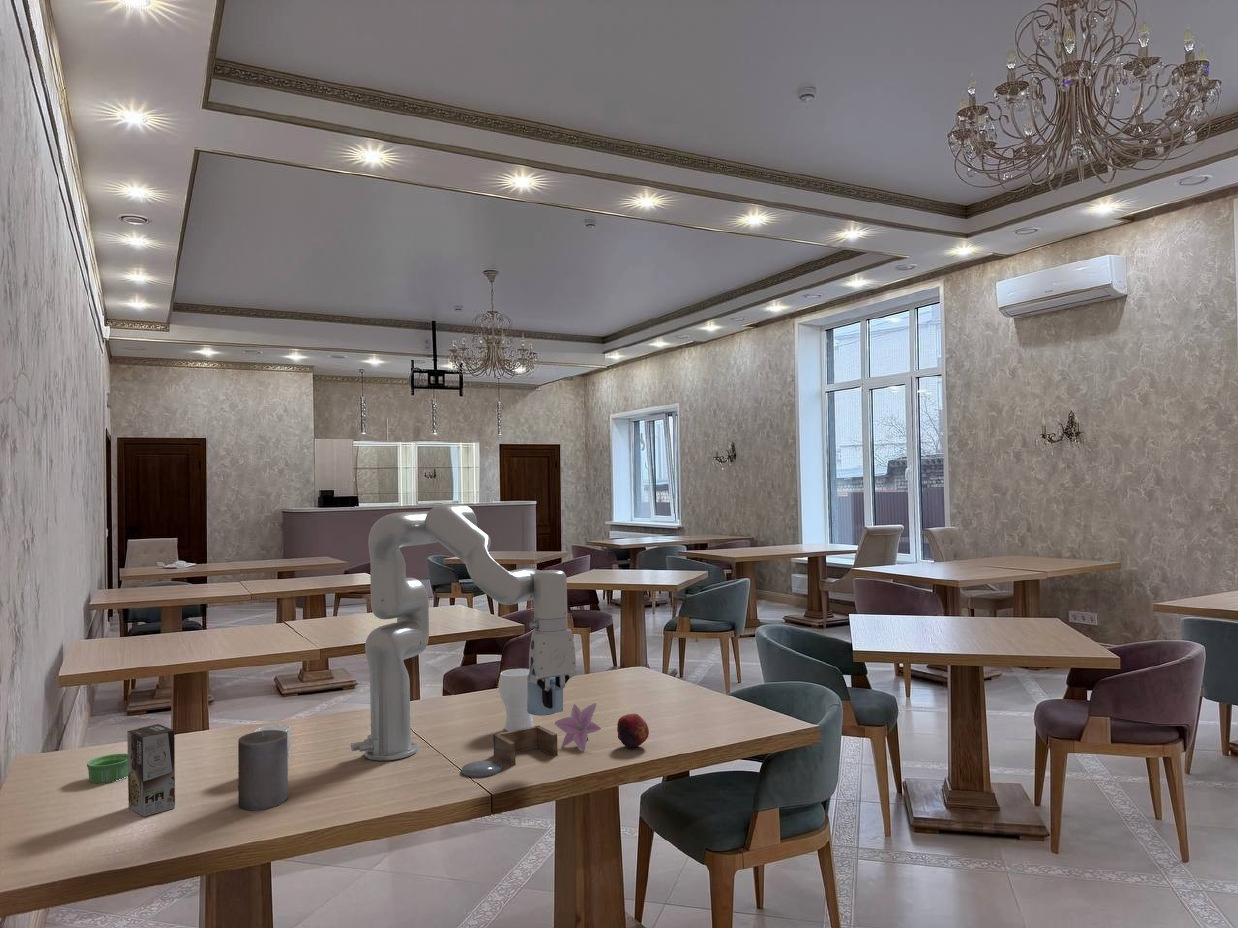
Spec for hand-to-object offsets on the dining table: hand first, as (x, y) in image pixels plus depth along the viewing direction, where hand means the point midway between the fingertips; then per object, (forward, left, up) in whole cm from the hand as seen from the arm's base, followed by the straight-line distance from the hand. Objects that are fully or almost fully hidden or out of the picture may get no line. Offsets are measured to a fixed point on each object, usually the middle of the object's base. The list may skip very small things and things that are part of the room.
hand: (552, 705), depth 187 cm
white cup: (-53, +40, -15) cm, 68 cm away
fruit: (+24, +4, -15) cm, 29 cm away
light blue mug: (0, +3, -2) cm, 4 cm away
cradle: (0, +15, -15) cm, 21 cm away
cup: (+9, +37, -15) cm, 41 cm away
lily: (+15, +15, -15) cm, 26 cm away
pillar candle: (-58, +21, -15) cm, 63 cm away
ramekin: (-85, +60, -15) cm, 105 cm away
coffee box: (-78, +32, -15) cm, 86 cm away
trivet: (-13, +11, -15) cm, 23 cm away
